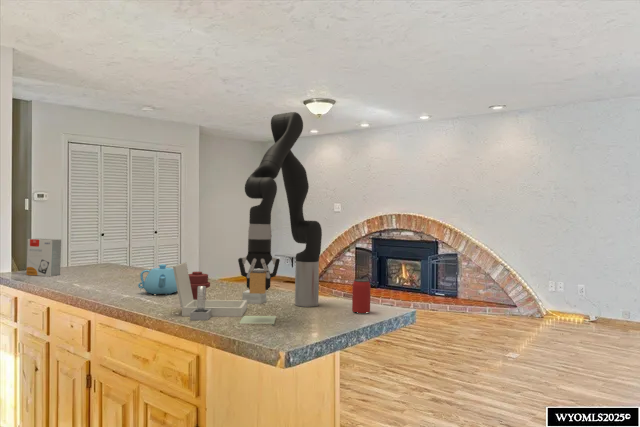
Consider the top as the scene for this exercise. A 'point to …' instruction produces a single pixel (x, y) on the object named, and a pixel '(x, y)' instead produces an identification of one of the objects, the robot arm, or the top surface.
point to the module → (258, 282)
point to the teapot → (159, 280)
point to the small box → (253, 297)
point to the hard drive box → (43, 257)
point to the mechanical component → (198, 282)
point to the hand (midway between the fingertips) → (258, 289)
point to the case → (211, 306)
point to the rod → (201, 298)
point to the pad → (258, 320)
